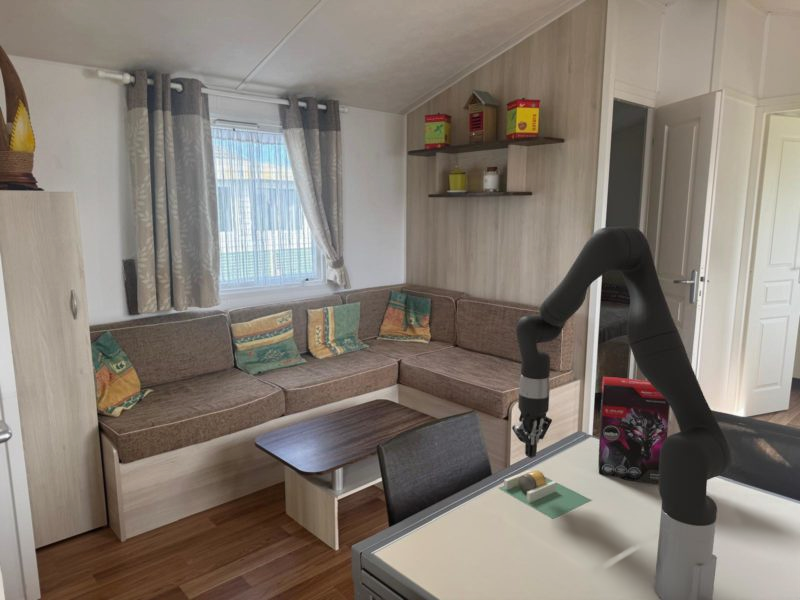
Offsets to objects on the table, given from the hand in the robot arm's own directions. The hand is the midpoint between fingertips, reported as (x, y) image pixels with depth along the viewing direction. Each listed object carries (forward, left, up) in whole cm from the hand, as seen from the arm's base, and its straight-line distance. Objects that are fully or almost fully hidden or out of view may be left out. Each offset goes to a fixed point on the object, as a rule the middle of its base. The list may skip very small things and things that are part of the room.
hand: (530, 456), depth 146 cm
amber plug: (0, 0, -9) cm, 9 cm away
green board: (-4, -1, -10) cm, 11 cm away
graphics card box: (-10, -30, -10) cm, 33 cm away
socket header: (0, 0, -10) cm, 10 cm away
